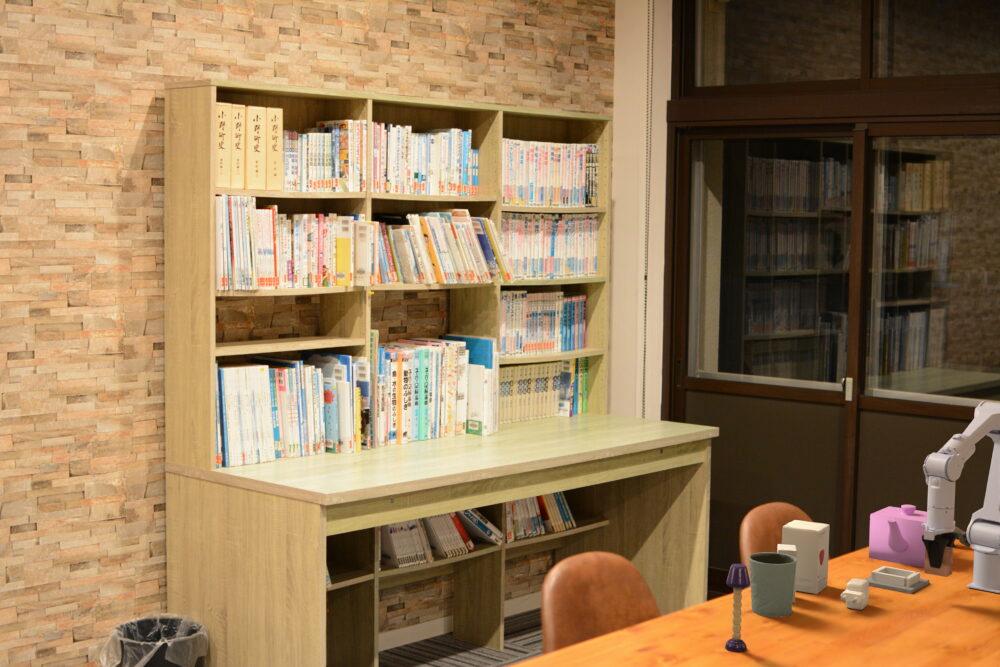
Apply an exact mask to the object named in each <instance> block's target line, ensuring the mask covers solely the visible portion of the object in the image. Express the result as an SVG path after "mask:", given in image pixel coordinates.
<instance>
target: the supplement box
mask: <svg viewBox="0 0 1000 667" xmlns="http://www.w3.org/2000/svg"><path fill="white" fill-rule="evenodd" d="M781 533H782V535H781V544H785V545H795V546H796V550H797V563H796V586H795V592H801V593H807V594H813V595H817V594H818V593H820V592H822V591H823V590H825V588H826V587H827V586H828V572H829V552H830V550H829V546H830V545H829V544H830V524H827V523H822V522H814V521H808V520H807V521H806V520H800V519H799V520H798V519H794V520H792V521H790V522H787V523H786V524H785V525H783V526H782V532H781Z"/></svg>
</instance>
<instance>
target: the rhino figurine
mask: <svg viewBox="0 0 1000 667" xmlns="http://www.w3.org/2000/svg"><path fill="white" fill-rule="evenodd" d="M966 532H967V530H966V531H964V530H962V529H960V527H958V526H956V525H955V529H954V531H953V532H952V533H957V534H958V536H957V538H956V540H957V541H959V543H960V544H962V545H964V546H965V547H967V548H971V544H969V542H968V540H967V535H966ZM952 548H956V545H955V542H954V543H953V546H952Z"/></svg>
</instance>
